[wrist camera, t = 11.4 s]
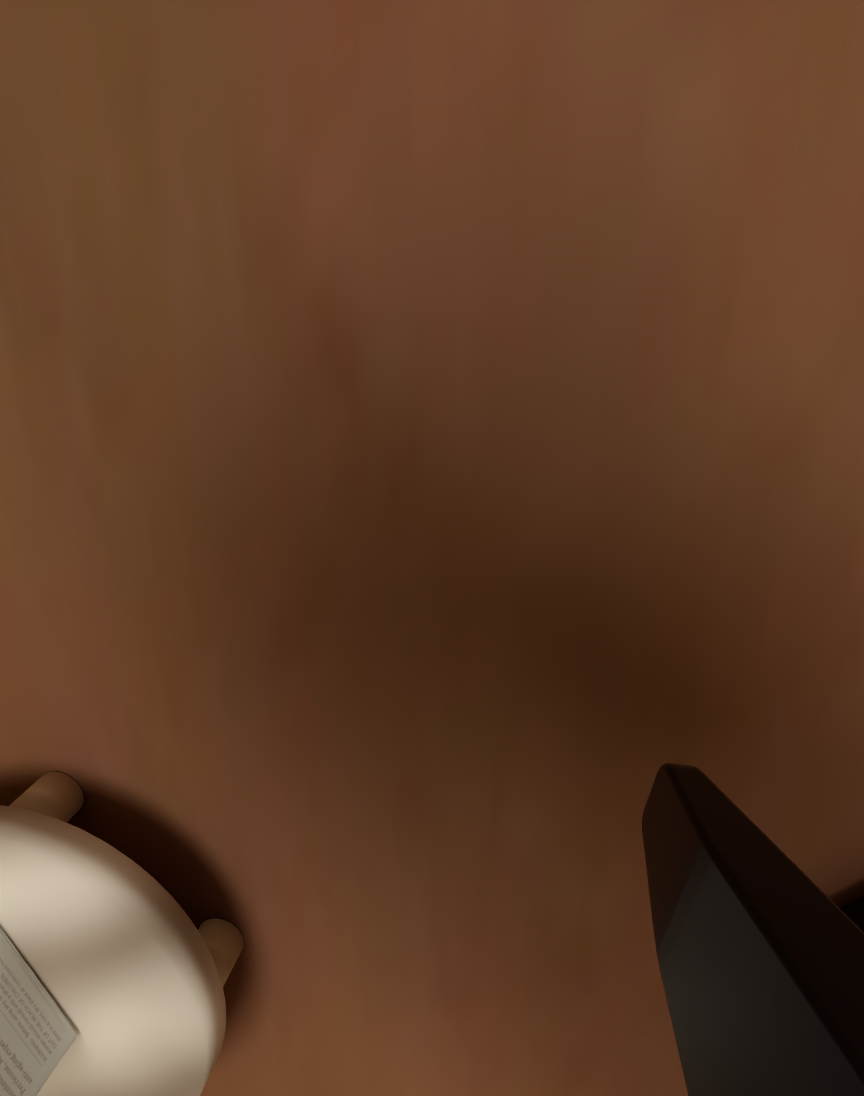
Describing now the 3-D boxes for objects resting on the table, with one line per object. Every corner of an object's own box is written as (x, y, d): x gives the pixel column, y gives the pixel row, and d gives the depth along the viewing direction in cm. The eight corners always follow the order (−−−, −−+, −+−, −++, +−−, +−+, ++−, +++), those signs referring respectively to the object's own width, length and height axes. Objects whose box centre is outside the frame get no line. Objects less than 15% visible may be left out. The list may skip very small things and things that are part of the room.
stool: (330, 955, 28) (291, 1059, 24) (118, 1097, 33) (59, 1201, 29) (41, 688, 26) (-49, 755, 23) (-135, 880, 31) (-232, 961, 28)
